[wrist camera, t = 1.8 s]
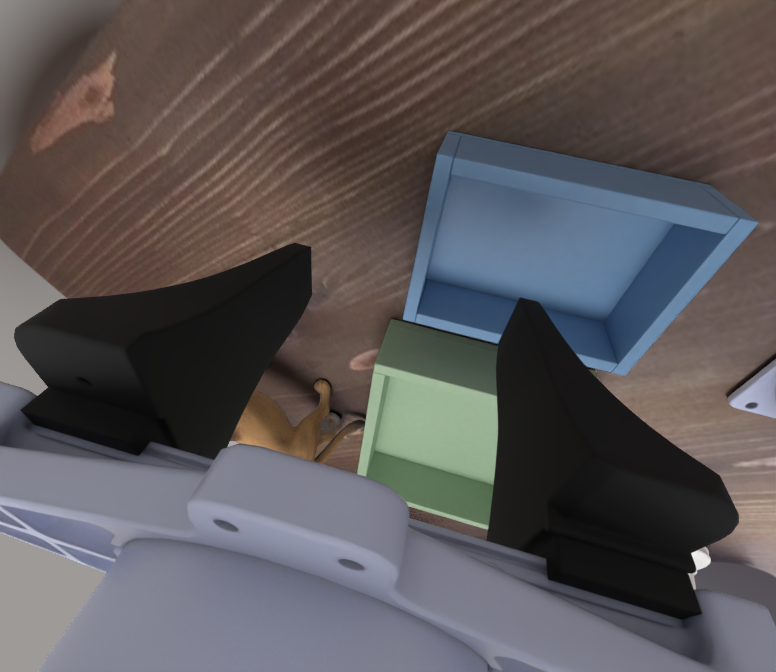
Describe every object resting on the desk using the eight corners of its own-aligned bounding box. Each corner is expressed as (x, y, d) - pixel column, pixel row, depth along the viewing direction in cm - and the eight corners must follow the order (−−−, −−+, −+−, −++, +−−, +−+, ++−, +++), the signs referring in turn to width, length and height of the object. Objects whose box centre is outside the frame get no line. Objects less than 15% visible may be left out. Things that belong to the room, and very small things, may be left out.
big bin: (391, 318, 22) (374, 363, 19) (595, 370, 21) (611, 426, 18) (367, 448, 33) (354, 490, 30) (504, 487, 31) (504, 535, 29)
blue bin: (711, 184, 14) (760, 222, 11) (607, 327, 19) (624, 376, 16) (448, 130, 15) (436, 153, 12) (414, 280, 20) (402, 320, 17)
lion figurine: (196, 352, 29) (107, 449, 22) (202, 309, 26) (99, 409, 19) (357, 431, 31) (319, 541, 25) (383, 401, 28) (347, 521, 21)
